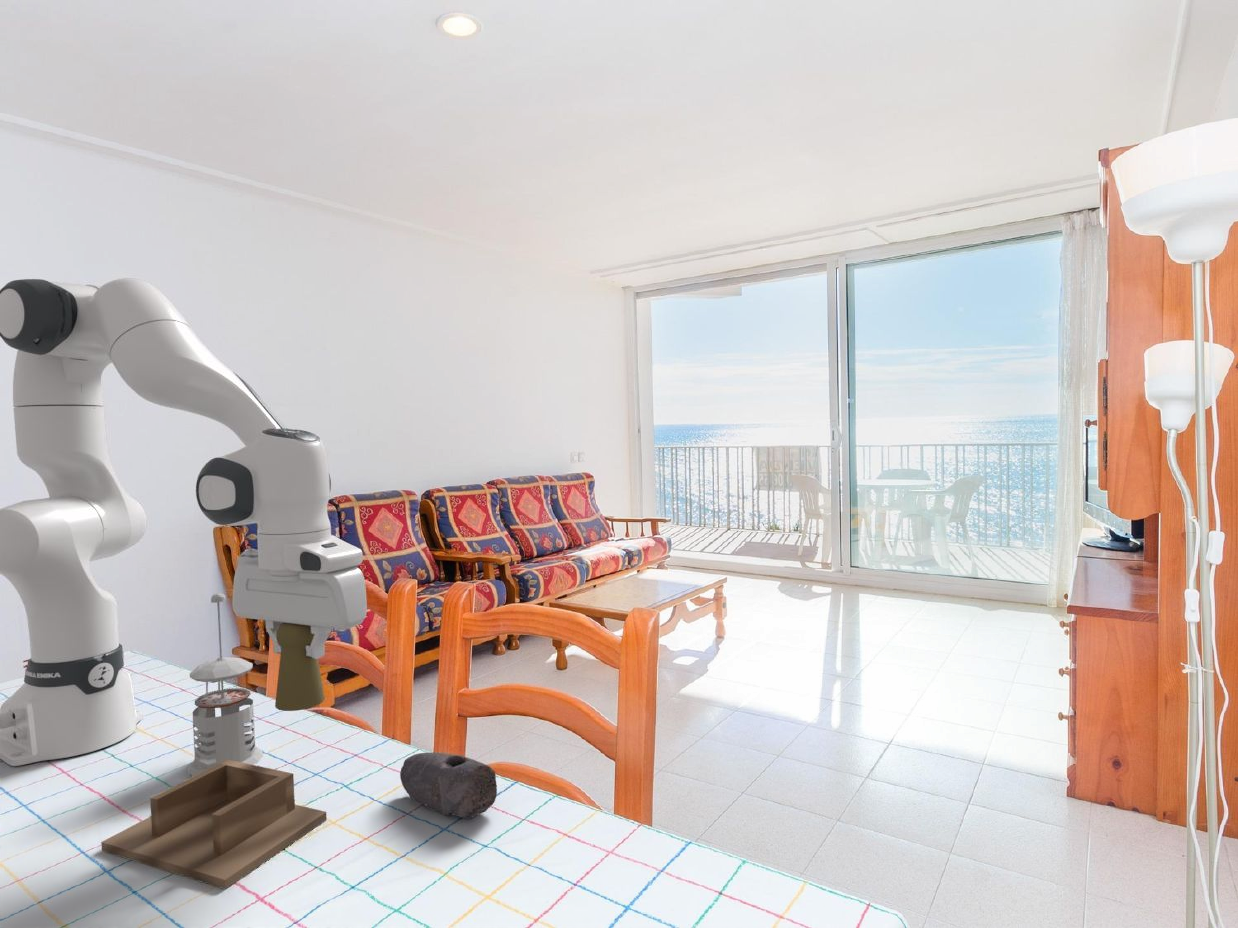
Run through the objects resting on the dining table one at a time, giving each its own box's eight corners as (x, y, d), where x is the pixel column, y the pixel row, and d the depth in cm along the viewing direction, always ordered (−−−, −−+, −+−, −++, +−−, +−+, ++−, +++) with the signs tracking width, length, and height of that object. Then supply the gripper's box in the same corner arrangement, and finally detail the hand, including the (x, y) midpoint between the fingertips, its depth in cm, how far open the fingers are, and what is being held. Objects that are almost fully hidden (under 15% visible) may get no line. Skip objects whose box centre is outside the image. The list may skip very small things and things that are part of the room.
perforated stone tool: (387, 801, 91) (385, 748, 91) (419, 783, 95) (417, 733, 95) (471, 834, 83) (470, 777, 83) (502, 814, 87) (500, 759, 87)
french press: (194, 785, 96) (185, 605, 95) (178, 756, 105) (170, 591, 104) (271, 761, 103) (263, 592, 101) (250, 736, 111) (243, 581, 110)
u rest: (101, 850, 81) (99, 803, 81) (211, 791, 94) (209, 751, 94) (225, 888, 74) (223, 838, 73) (326, 819, 87) (324, 776, 86)
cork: (305, 712, 90) (302, 627, 89) (264, 708, 91) (261, 625, 91) (334, 695, 96) (331, 615, 95) (295, 691, 97) (292, 613, 96)
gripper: (217, 551, 93) (221, 653, 94) (336, 560, 86) (340, 671, 86) (258, 544, 99) (261, 640, 100) (372, 551, 91) (376, 656, 92)
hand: (299, 655), depth 93 cm, fingers closed on cork, 4 cm apart
